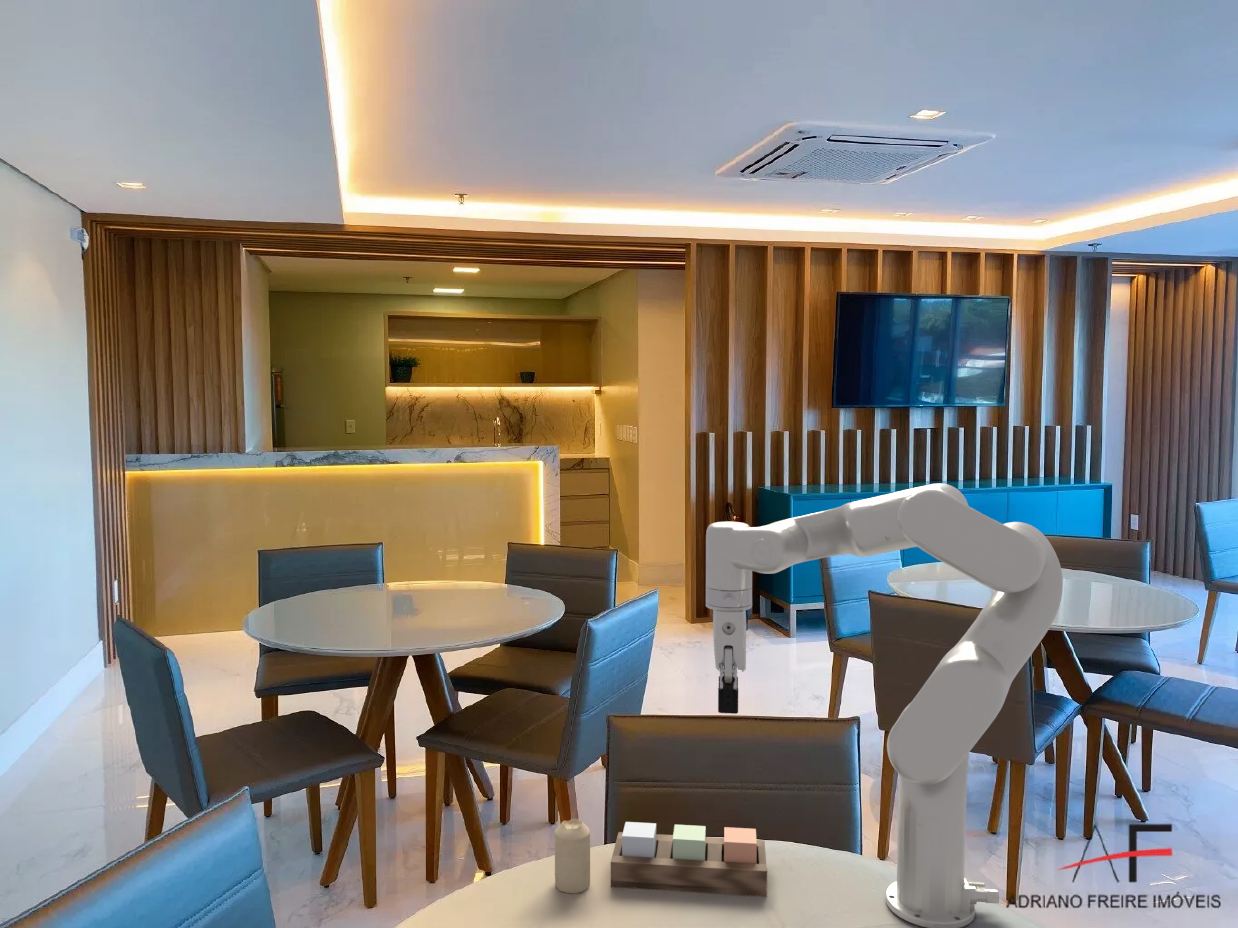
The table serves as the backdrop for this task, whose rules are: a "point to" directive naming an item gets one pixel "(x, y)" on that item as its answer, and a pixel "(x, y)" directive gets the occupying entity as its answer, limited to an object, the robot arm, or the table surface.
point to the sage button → (689, 842)
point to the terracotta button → (740, 845)
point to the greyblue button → (639, 839)
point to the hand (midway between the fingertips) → (728, 705)
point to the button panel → (690, 870)
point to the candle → (572, 856)
